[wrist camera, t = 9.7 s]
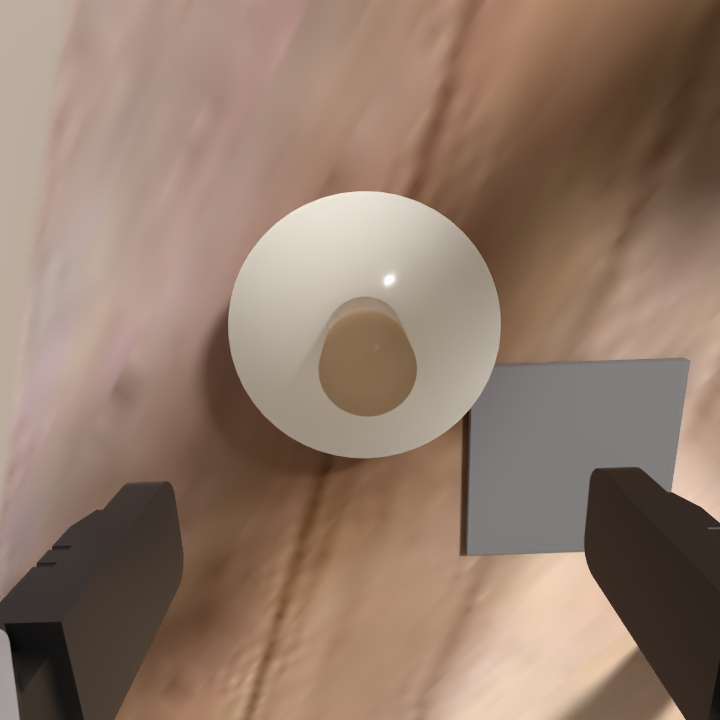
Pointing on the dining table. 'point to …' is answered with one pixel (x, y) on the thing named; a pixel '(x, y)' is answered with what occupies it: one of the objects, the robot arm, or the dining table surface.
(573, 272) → the dining table surface
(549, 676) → the dining table surface
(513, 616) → the dining table surface
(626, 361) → the mat
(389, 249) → the lid
